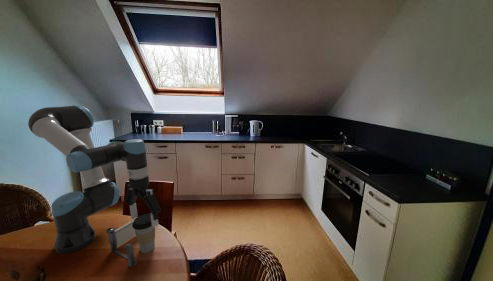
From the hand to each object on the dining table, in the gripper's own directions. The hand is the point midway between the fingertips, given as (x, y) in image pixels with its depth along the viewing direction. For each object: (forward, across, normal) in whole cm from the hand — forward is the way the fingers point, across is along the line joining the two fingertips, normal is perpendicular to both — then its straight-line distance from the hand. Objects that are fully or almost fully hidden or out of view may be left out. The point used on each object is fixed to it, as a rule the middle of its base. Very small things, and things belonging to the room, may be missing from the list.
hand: (144, 221), depth 95 cm
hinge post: (+14, -12, -8) cm, 20 cm away
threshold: (+14, -4, -8) cm, 16 cm away
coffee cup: (+14, 0, 0) cm, 14 cm away
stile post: (+14, +2, -10) cm, 17 cm away
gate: (+13, -12, +1) cm, 18 cm away
